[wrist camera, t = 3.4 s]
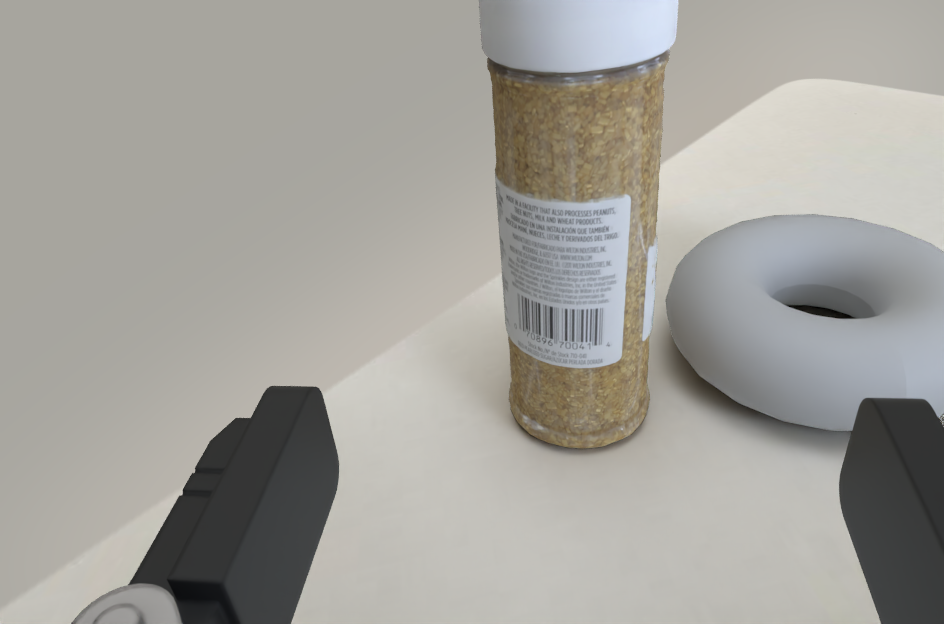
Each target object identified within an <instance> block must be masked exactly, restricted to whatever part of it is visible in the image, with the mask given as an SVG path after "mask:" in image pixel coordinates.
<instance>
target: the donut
mask: <svg viewBox="0 0 944 624" xmlns="http://www.w3.org/2000/svg"><path fill="white" fill-rule="evenodd" d="M786 305H809V306H815V307H822V308H828V309H832V310H835V311H838V312H841V313H844V314H848V315H850V316H852V317H854V318H856V319H838V318H831V317H824V316H818V315H812V314H809V313H806V312H803V311H800V310H797V309H793V308H790V307H788V306H786ZM666 309H667V316H668V320H669V324H670V329H671V333H672V338H673V340H674V342H675V344H676V346H677V347H678V349H679V350H680V352H681V353H682V354H683V356H684V357H685V358H686V359H687V361H688V362H689V363H690V365H691V366H692V367H693V368H694V370H695V371H696V372H697V374H698V375H699V376H700V377H702V378H703V379H704V380H706V381H707V382H709V383H710V384H712V385H713V386H714V387H716V388H717V389H719V390H720V391H722V392H723V393H725V394H726V395H727V396H729V397H730V398H732V399H733V400H735V401H736V402H738V403H740V404H742V405H744V406H747V407H749V408H751V409H754V410H756V411H759V412H761V413H764V414H766V415H769V416H771V417H773V418H776V419H778V420H781V421H784V422H789V423H794V424H799V425H804V426H809V427H814V428H819V429H824V430H829V431H852V429H853V426H854V422H855V419H856V415H857V412H858V408H859V405H860V403H861V402H862V400H863V399H865V398H915V399H925V400H926V401H928V402H929V403H930V405H931V406H932V408H933V409H934V411H935V413H936V415H937V417H939V416H941V415H943V414H944V252H943V251H942V250H940V249H938V248H937V247H935V246H934V245H932V244H931V243H928V242H926V241H923V240H921V239H918V238H916V237H913V236H911V235H908V234H906V233H904V232H901V231H899V230H896V229H894V228H890V227H886V226H882V225H877V224H873V223H869V222H865V221H861V220H857V219H853V218H844V217H834V216H825V215H816V214H807V215H774V216H769V217H763V218H758V219H753V220H748V221H742V222H739V223H737V224H734V225H732V226H730V227H727V228H725V229H723V230H720V231H718V232H715V233H713V234H712V235H710V236H708V237H706V238H705V239H703V240H702V241H701V242H700V243H699V244H698V245H697V246H695V247H694V248H693V249H692V250H691V251H690V252H689V253H688V254H686V255H685V256H684V258H683V259H682V260H681V262H680V263H679V264H678V265H677V268H676V271H675V273H674V276H673V279H672V282H671V284H670V287H669V290H668V294H667V297H666Z"/></svg>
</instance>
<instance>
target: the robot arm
mask: <svg viewBox="0 0 944 624" xmlns="http://www.w3.org/2000/svg"><path fill="white" fill-rule="evenodd" d="M338 478H339V460H338V454H337V450H336V446H335V442H334V438H333V434H332V430H331V426H330V422H329V418H328V415H327V411H326V407H325V403H324V399H323V395H322V393H321V391H320V390H319V388H317V387H301V386H299V387H298V386H271V387H269V388H267V390H266V391H265V392H264V394H263V396H262V398H261V400H260V401H259V403H258V405H257V407H256V409H255V411H254V413H253V415H252V417H251V418H235V419H234V420H233V421H232V422H231V423H230V424H229V425H228V426H227V427H225V428H224V429H223V430H222V431H221V432H220V433H219V434H218V435H216V436H215V437H214V438H213V439H212V440H211V441H210V443H209V444H208V446H207V448H206V450H205V452H204V453H203V455H202V457H201V458H200V460H199V462H198V464H197V466H196V468H195V473H192V475H191V476H190V478H189V480H188V481H187V483H186V485H185V487H184V488H183V495H182V496H179V497H178V499H177V501H176V503H175V504H174V506H173V508H172V510H171V511H170V513H169V515H168V517H167V518H166V520H165V522H164V524H163V526H162V527H161V529H160V531H159V533H158V534H157V536H156V538H155V540H154V541H153V543H152V545H151V547H150V549H149V550H148V552H147V554H146V556H145V557H144V559H143V561H142V563H141V564H140V566H139V568H138V570H137V572H136V573H135V575H134V577H133V578H132V580H131V581H130V583H129V584H128V585H127V586H123V587H120V588H117V589H115V590H112V591H110V592H108V593H106V594H104V595H103V596H101V597H99V598H98V599H96V600H95V601H93V602H92V603H91V604H90V605H88V606H87V607H86V608H85V609H84V610H83V611H82V612H81V613H80V614H79V615H78V616H77V617H76V618H75V619H74V621H73V622H72V623H71V624H291V621H292V618H293V616H294V613H295V610H296V607H297V604H298V601H299V598H300V595H301V593H302V590H303V587H304V584H305V581H306V578H307V575H308V572H309V570H310V567H311V564H312V561H313V558H314V555H315V552H316V549H317V547H318V544H319V541H320V538H321V535H322V532H323V529H324V526H325V524H326V521H327V518H328V515H329V512H330V509H331V506H332V503H333V500H334V498H335V494H336V491H337V486H338ZM839 494H840V504H841V509H842V513H843V517H844V520H845V522H846V525H847V528H848V531H849V534H850V537H851V539H852V542H853V545H854V548H855V551H856V553H857V556H858V559H859V562H860V565H861V567H862V570H863V573H864V576H865V579H866V582H867V584H868V587H869V590H870V593H871V596H872V598H873V601H874V604H875V607H876V610H877V613H878V615H879V618H880V621H881V624H944V427H943V426H942V424H941V422H940V420H939V418H938V417H937V415H936V413H935V411H934V409H933V408H932V406H931V405H930V403H929V402H928V401H926V400H925V399H915V398H865V399H863V400H862V402H861V403H860V405H859V408H858V412H857V415H856V419H855V422H854V426H853V429H852V433H851V437H850V440H849V444H848V447H847V451H846V455H845V458H844V462H843V465H842V469H841V473H840V481H839Z"/></svg>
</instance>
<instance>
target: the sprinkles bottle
mask: <svg viewBox="0 0 944 624" xmlns="http://www.w3.org/2000/svg"><path fill="white" fill-rule="evenodd" d="M479 8H480V28H481V41H482V49H483V51H484V53H485V54H486V56H487V57H488V59H487V63H488V65H487V67H488V70H489V72H490V75H491V81H492V91H493V109H494V125H495V146H496V162H497V163H496V168H495V178H496V194H497V208H498V221H499V235H500V249H501V265H502V280H503V295H504V309H505V324H506V329H507V333H508V340H509V347H510V366H511V378H512V382H511V385H510V391H509V402H510V406H511V411H512V413H513V414H514V416H515V419H516V420H517V422H518V423H519V424H520V425H521V426H522V427H523V428H524V429H525V430H526V431H527V432H528V433H529V434H531V435H533V436H534V437H536V438H538V439H540V440H543V441H545V442H547V443H552V444H555V445H558V446H564V447H570V448H596V447H602V446H606V445H608V444H611V443H613V442H616V441H619V440H621V439H623V438H625V437H627V436H629V435H631V434H632V433H633V432H634V431H635V430H636V429H637V427H638V426H640V424H641V423H642V421H643V420H644V418H645V416H646V411H647V409H648V405H649V400H650V394H649V389H648V385H647V372H648V357H649V335H650V332H651V329H652V325H653V313H654V299H655V284H656V264H657V235H656V222H657V208H658V207H657V206H658V190H659V171H660V157H661V140H662V130H663V128H662V115H663V114H662V113H663V99H664V90H663V81H664V71H665V67H666V65H667V63H668V60H669V55H670V54H669V53H670V51H669V48H670V47H671V46H672V44H673V43H674V41H675V37H676V30H677V14H678V0H479Z"/></svg>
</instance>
